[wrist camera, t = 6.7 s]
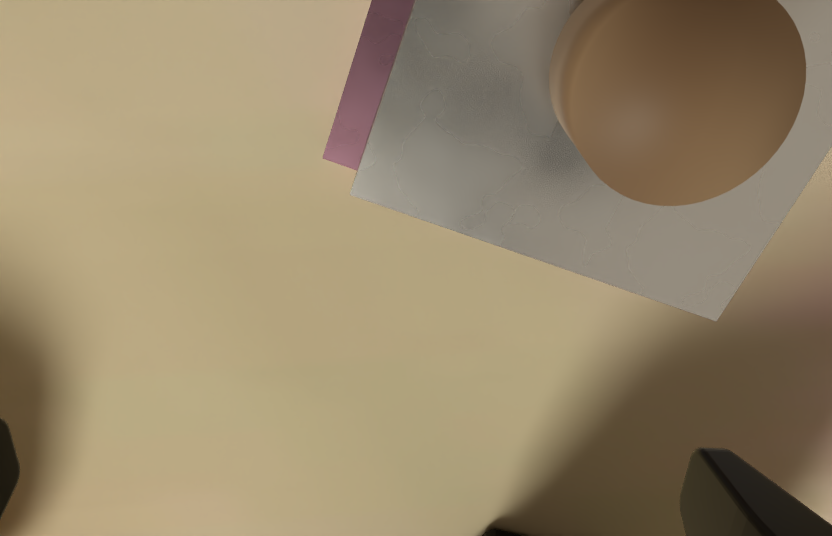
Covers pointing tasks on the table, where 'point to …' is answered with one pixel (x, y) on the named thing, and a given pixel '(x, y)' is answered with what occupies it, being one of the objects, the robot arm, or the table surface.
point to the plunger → (677, 92)
